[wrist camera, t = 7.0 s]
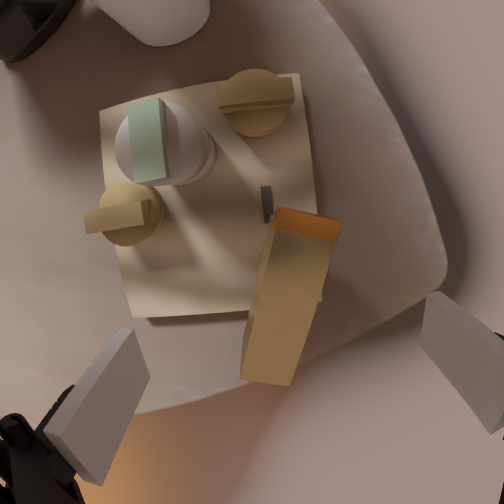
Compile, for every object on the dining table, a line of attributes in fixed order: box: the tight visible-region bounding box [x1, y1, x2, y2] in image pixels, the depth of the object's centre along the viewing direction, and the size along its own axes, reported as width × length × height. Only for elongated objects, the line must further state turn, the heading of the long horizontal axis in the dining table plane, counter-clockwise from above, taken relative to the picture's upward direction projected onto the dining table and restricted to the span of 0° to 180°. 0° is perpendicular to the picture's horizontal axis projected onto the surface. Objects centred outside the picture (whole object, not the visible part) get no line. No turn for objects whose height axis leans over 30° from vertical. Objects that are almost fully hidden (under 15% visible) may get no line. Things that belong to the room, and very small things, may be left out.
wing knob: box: [240, 205, 341, 386], centre depth 19 cm, size 3×10×10 cm, turn 168°
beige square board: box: [83, 69, 322, 318], centre depth 20 cm, size 20×18×11 cm
